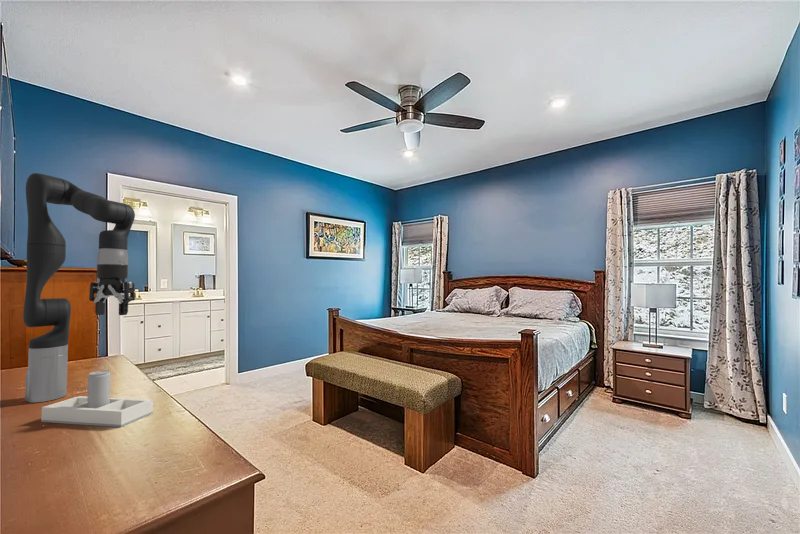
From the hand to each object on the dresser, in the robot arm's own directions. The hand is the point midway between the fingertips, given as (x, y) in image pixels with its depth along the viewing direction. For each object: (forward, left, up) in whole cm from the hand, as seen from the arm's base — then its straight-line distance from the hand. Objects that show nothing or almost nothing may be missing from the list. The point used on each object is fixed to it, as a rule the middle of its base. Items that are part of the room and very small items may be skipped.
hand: (111, 314), depth 108 cm
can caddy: (+7, -9, -28) cm, 30 cm away
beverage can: (+7, -9, -28) cm, 30 cm away
